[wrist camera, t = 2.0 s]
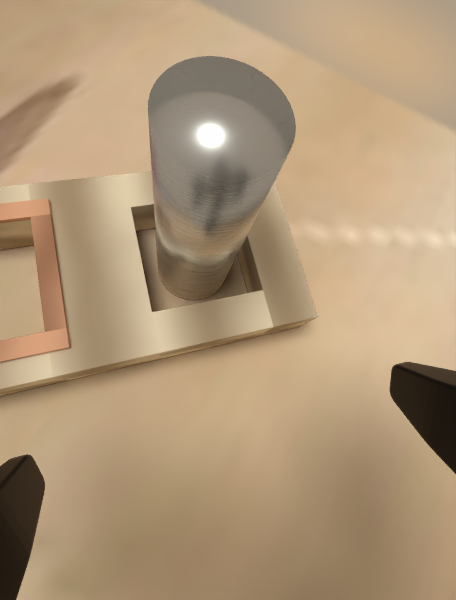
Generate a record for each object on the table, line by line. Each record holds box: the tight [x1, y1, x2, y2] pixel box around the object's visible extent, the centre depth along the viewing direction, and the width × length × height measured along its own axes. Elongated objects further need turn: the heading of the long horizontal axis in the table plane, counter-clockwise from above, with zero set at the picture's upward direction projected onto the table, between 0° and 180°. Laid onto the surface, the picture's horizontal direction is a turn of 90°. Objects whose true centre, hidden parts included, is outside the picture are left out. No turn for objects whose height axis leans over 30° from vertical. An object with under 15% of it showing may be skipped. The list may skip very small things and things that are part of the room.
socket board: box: [0, 171, 318, 396], centre depth 20 cm, size 24×11×3 cm, turn 104°
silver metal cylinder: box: [148, 56, 296, 300], centre depth 17 cm, size 5×5×13 cm
